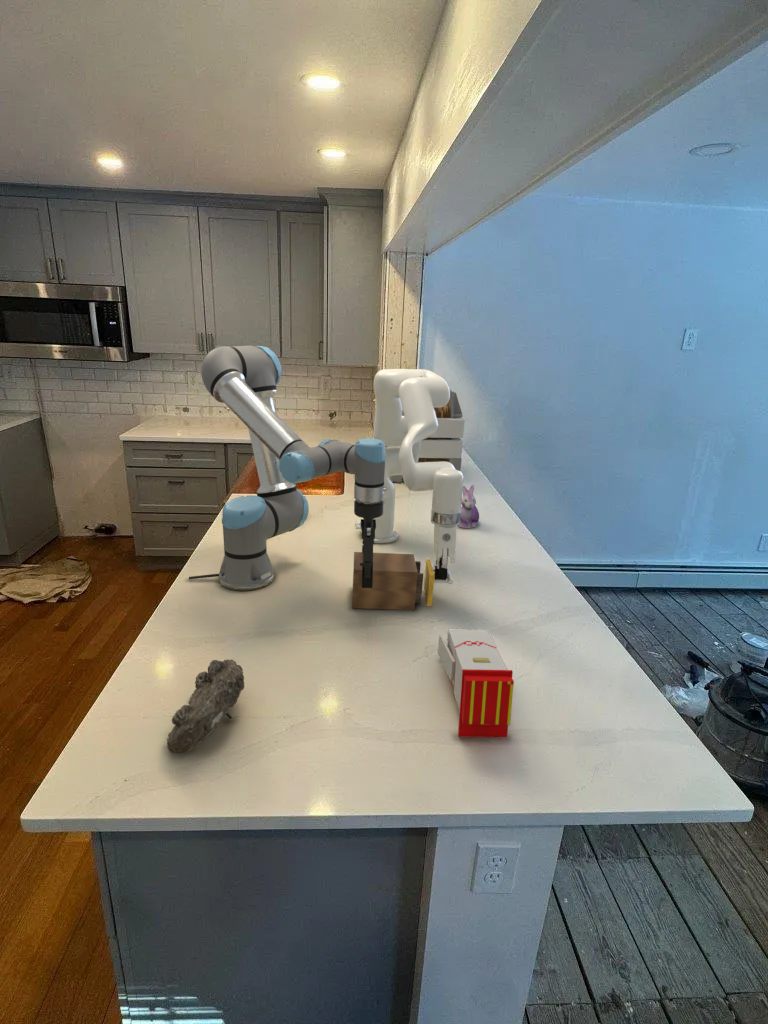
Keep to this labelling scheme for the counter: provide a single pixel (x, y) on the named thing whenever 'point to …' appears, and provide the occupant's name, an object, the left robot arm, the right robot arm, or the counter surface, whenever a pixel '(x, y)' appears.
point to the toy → (478, 682)
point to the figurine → (468, 509)
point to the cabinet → (386, 582)
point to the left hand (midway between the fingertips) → (366, 576)
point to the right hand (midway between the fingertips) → (440, 580)
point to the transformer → (443, 437)
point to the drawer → (428, 582)
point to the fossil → (206, 705)
